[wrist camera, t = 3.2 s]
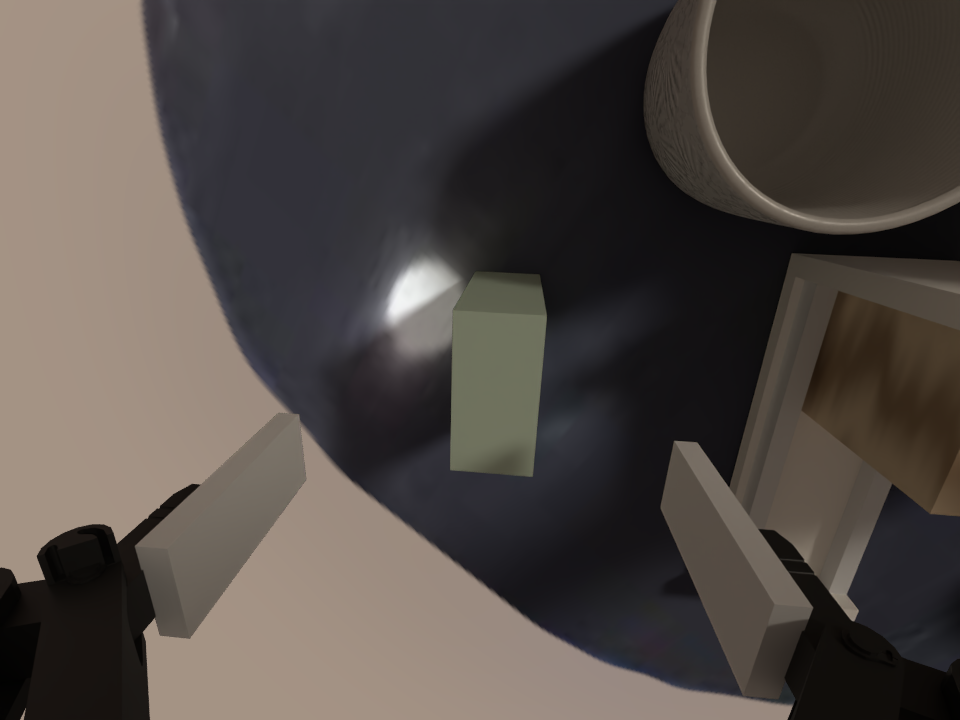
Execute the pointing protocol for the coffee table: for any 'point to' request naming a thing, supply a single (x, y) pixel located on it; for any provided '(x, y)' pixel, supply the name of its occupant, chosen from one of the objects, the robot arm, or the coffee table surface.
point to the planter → (810, 109)
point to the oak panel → (893, 397)
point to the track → (804, 443)
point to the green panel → (497, 373)
